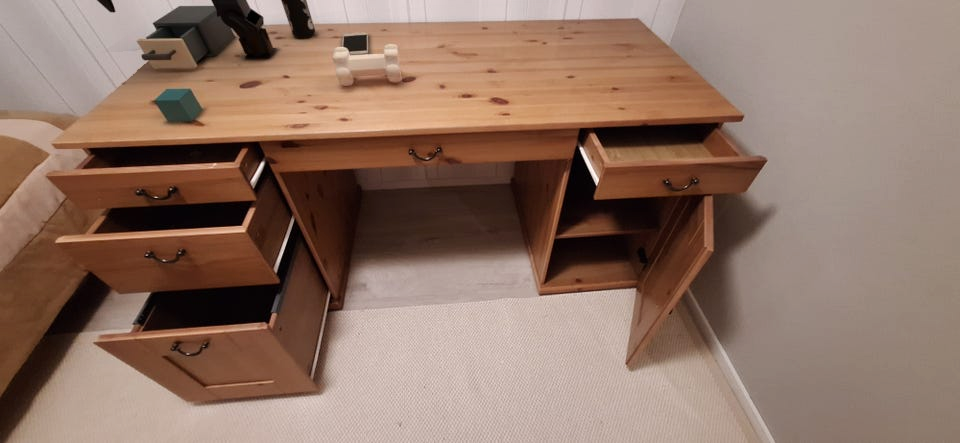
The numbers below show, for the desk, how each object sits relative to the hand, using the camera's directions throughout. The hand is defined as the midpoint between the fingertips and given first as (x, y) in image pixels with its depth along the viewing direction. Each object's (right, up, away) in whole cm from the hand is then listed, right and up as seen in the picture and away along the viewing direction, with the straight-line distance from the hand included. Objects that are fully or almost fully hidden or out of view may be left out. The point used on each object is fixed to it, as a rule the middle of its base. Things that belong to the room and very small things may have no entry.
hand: (126, 5), depth 91 cm
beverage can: (+32, +4, +24) cm, 40 cm away
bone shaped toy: (+58, -17, +3) cm, 61 cm away
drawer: (+7, -10, +8) cm, 15 cm away
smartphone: (+49, -1, +18) cm, 53 cm away
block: (+21, -29, -9) cm, 37 cm away
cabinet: (+6, -2, +17) cm, 18 cm away
